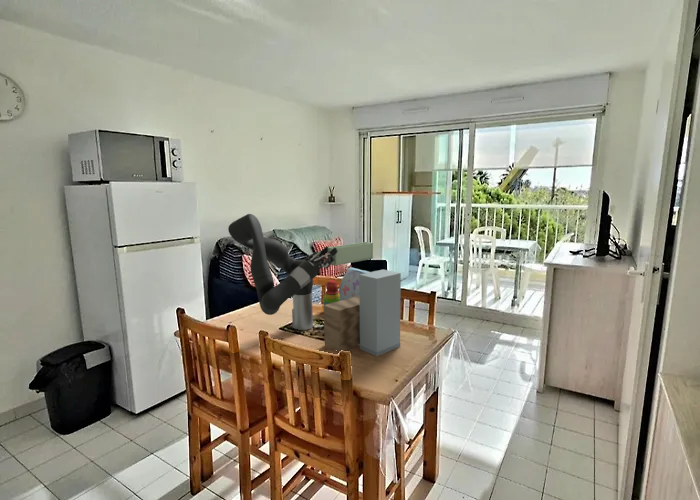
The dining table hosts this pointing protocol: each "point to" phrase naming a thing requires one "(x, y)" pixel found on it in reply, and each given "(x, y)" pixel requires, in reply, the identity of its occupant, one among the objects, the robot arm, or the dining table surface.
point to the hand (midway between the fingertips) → (332, 248)
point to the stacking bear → (331, 292)
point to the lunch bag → (350, 283)
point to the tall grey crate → (379, 311)
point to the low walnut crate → (342, 324)
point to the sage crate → (352, 253)
